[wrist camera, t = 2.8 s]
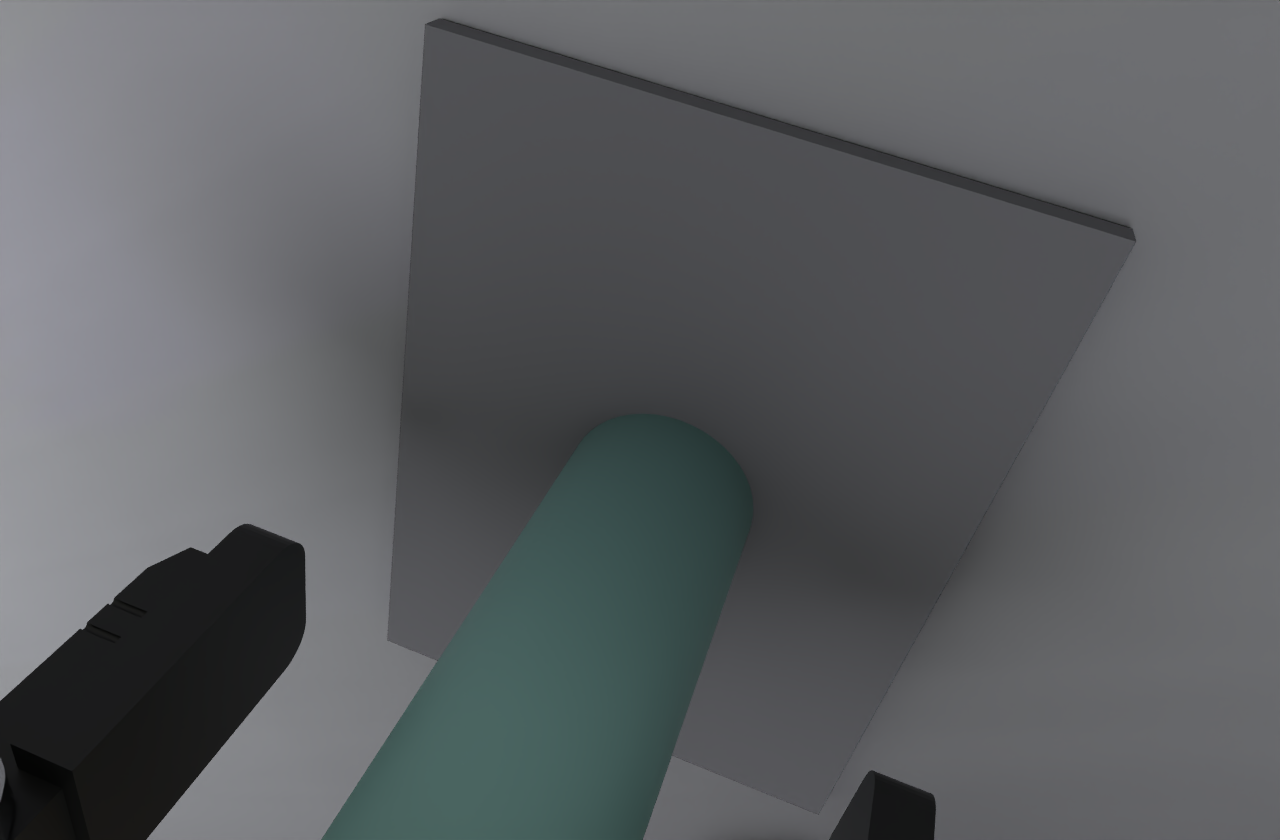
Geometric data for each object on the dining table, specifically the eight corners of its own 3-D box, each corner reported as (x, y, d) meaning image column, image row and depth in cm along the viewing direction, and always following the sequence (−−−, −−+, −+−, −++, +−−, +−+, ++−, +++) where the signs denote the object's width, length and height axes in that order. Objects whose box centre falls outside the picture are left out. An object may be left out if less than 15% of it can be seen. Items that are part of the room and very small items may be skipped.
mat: (439, 18, 13) (425, 24, 12) (1132, 229, 11) (1136, 241, 11) (397, 626, 20) (387, 640, 19) (821, 797, 18) (818, 814, 18)
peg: (586, 387, 14) (71, 1120, 6) (777, 454, 14) (476, 1326, 6) (558, 530, 16) (124, 1246, 8) (726, 594, 16) (442, 1412, 8)
